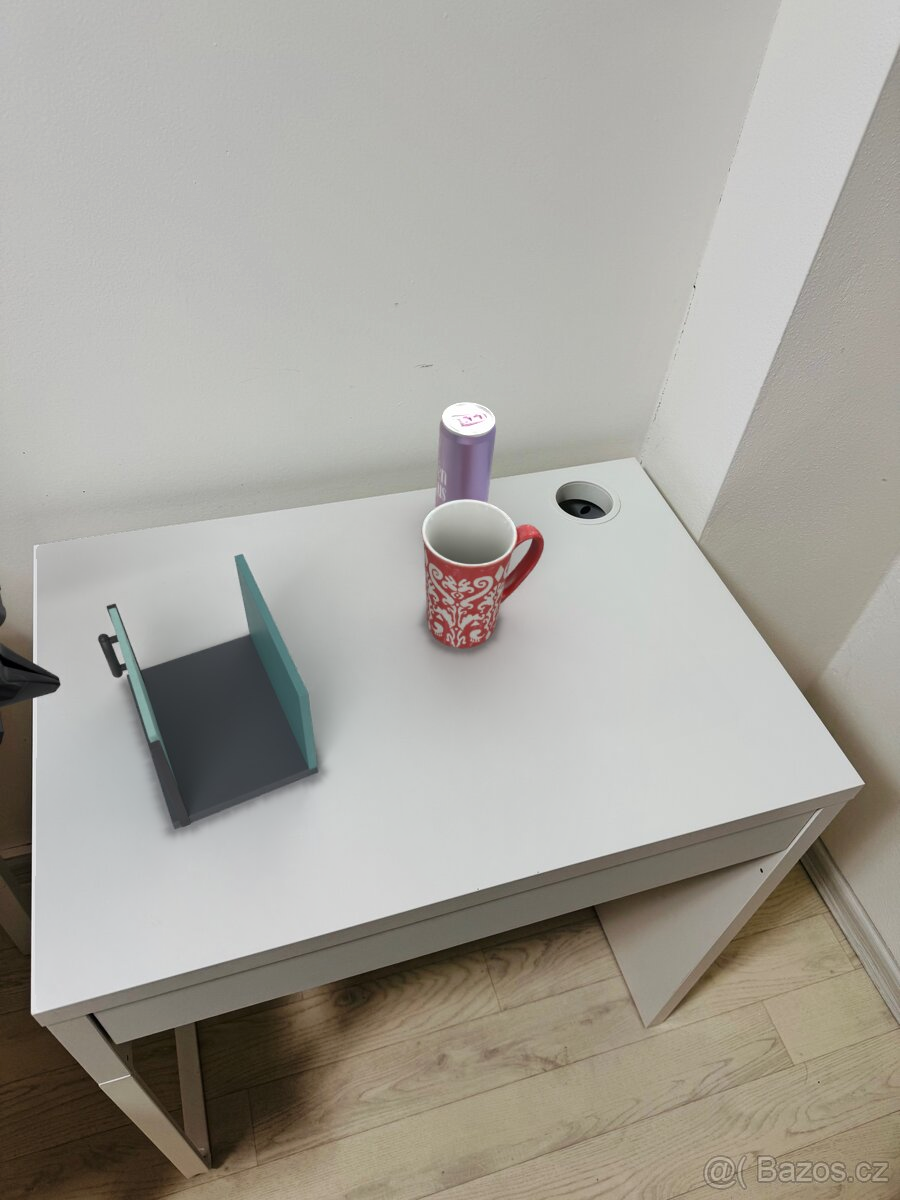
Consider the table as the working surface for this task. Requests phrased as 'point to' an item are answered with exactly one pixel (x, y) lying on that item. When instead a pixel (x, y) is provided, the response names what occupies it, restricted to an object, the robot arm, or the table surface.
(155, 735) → the shower door
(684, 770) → the table surface
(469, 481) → the beverage can
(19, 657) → the robot arm
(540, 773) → the table surface
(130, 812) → the table surface
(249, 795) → the shower stall
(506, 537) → the mug
